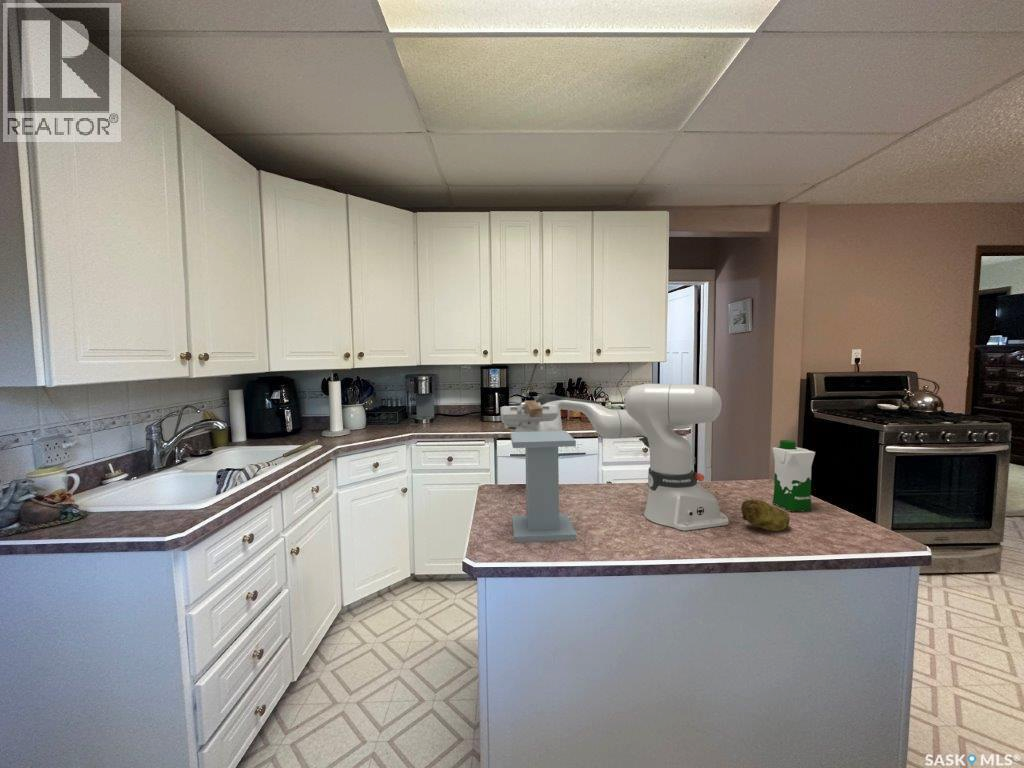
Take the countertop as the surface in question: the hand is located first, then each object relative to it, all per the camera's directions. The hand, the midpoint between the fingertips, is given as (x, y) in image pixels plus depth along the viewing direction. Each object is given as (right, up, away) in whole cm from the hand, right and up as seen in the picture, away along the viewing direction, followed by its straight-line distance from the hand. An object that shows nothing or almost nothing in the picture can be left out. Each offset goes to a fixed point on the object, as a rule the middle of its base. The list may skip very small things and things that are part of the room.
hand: (530, 404), depth 134 cm
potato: (+62, -32, -26) cm, 75 cm away
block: (0, -2, -6) cm, 6 cm away
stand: (+2, -33, -24) cm, 41 cm away
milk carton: (+80, -31, -11) cm, 86 cm away
